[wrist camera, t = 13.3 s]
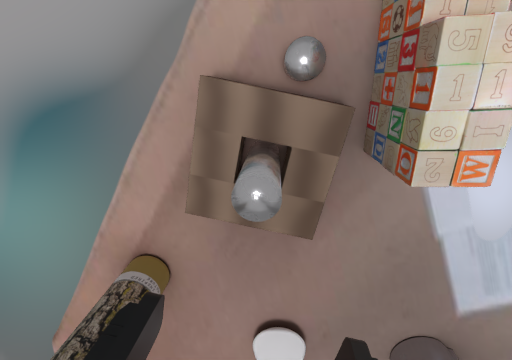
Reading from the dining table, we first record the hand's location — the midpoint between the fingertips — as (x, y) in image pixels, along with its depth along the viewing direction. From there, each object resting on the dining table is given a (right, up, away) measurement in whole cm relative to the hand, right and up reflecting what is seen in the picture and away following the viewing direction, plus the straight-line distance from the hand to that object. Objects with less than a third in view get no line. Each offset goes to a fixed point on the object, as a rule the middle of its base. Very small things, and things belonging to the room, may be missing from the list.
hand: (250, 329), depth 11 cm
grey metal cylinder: (+5, +20, +18) cm, 27 cm away
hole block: (+1, +10, +22) cm, 24 cm away
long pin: (+1, +10, +22) cm, 24 cm away
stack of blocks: (+17, +20, +17) cm, 31 cm away
